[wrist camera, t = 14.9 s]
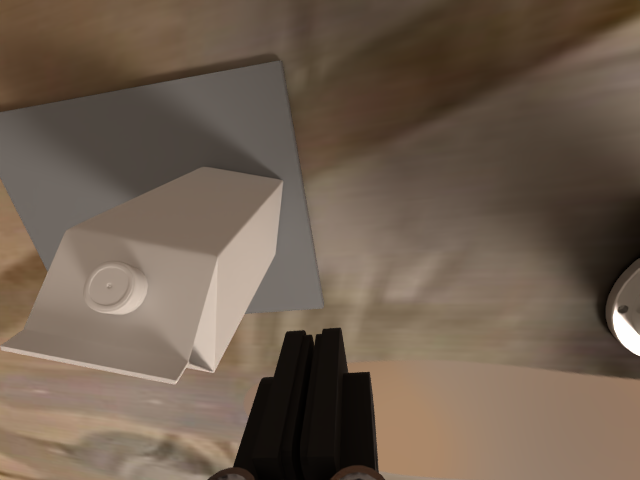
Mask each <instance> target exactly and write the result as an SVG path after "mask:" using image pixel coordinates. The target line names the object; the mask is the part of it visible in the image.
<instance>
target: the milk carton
mask: <svg viewBox="0 0 640 480" xmlns="http://www.w3.org/2000/svg"><path fill="white" fill-rule="evenodd" d="M282 189H283V181H282V180H280V179H274V178H269V177H263V176H257V175H251V174H246V173H240V172H234V171H228V170H223V169H217V168H211V167H201V168H199V169H196V170H194V171H192V172H190V173H188V174H186V175H183V176H181V177H179V178H177V179H175V180H173V181H170V182H168V183H166V184H164V185H162V186H160V187H157V188H155V189H153V190H151V191H149V192H146V193H144V194H142V195H140V196H138V197H136V198H133V199H131V200H129V201H127V202H125V203H123V204H120V205H118V206H116V207H114V208H112V209H110V210H107V211H105V212H103V213H101V214H99V215H97V216H94V217H92V218H90V219H88V220H86V221H84V222H82V223H80V224H78V225H76V226H73V227H71V228H70V229H68V230H66V232H65V234H64V236H63V238H62V240H61V243H60V245H59V247H58V250H57V252H56V254H55V257H54V259H53V261H52V264H51V266H50V268H49V271H48V273H47V275H46V278H45V280H44V282H43V285H42V287H41V289H40V292H39V294H38V296H37V299H36V301H35V303H34V306H33V308H32V310H31V313H30V315H29V318H28V320H27V322H26V325H25V327H24V330H22V331H21V332H19V333H18V334H16V335H15V336H13V337H12V338H11V339H9V340H8V341H6V342H5V343H3V344H2V345H1V346H0V347H1V350H3V351H8V352H13V353H18V354H23V355H28V356H33V357H38V358H43V359H48V360H54V361H59V362H64V363H69V364H74V365H79V366H84V367H89V368H94V369H99V370H104V371H109V372H114V373H119V374H124V375H129V376H134V377H140V378H145V379H150V380H155V381H160V382H165V383H170V384H176V383H177V382H178V380H179V378H180V377H181V375H182V374H183V372H184V370H185V369H186V368H191V369H196V370H201V371H206V372H211V373H214V371H215V369H216V367H217V366H218V364H219V362H220V360H221V358H222V356H223V354H224V352H225V350H226V348H227V346H228V344H229V343H230V341H231V339H232V337H233V335H234V333H235V331H236V329H237V327H238V325H239V323H240V321H241V319H242V318H243V316H244V314H245V312H246V310H247V308H248V306H249V304H250V302H251V300H252V298H253V296H254V295H255V293H256V291H257V289H258V287H259V285H260V283H261V281H262V279H263V277H264V275H265V273H266V271H267V270H268V268H269V266H270V264H271V262H272V260H273V258H274V256H275V254H276V245H277V235H278V226H279V217H280V207H281V198H282Z"/></svg>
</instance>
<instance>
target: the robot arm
mask: <svg viewBox="0 0 640 480" xmlns="http://www.w3.org/2000/svg"><path fill="white" fill-rule="evenodd" d="M606 321H607V324H608V328H609V329H610V331H611V333H612V334H613V336H614V337H615V338H616V339H617V340H618V341H619V342H620V343H621V344H622V345H623V346H624V347H625V348H627V349H628V350H629V351H631V352H632V353H634V354H636V355H638V356H640V258H639V259H638V260H636V261H635V262H633V263H632V264H631V265H630V266H629V267H628V268H627V269H626V270H625V271H624V272H623V273H622V274H621V276H620V277H619V278H618V280H617V281H616V282H615V284H614V286H613V288H612V290H611V292H610V294H609V296H608V300H607V304H606ZM208 480H385V479H384V478H383V476H382V475H381V474H379V470H378V456H377V442H376V429H375V415H374V404H373V394H372V386H371V378H370V372H359V373H348V368H347V362H346V355H345V349H344V342H343V336H342V330H341V328H330V329H323V331H322V334H317V335H316V339H315V346H314V342H313V337H312V335H306V332H305V331H304V330H302V331H287V332H286V334H285V338H284V342H283V345H282V349H281V353H280V356H279V360H278V364H277V367H276V371H275V374H274V377H264V378H262V379H261V381H260V384H259V387H258V390H257V393H256V396H255V399H254V403H253V406H252V409H251V412H250V415H249V418H248V421H247V425H246V428H245V431H244V434H243V437H242V440H241V444H240V447H239V450H238V453H237V456H236V459H235V462H234V466H233V467H232V468H227V469H224V470H221V471H219V472H217V473H216V474H214V475H212V476H211V477H210V478H209V479H208Z"/></svg>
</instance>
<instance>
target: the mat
mask: <svg viewBox="0 0 640 480" xmlns="http://www.w3.org/2000/svg"><path fill="white" fill-rule="evenodd" d="M201 167H211V168H217V169H223V170H228V171H234V172H240V173H246V174H251V175H257V176H263V177H269V178H274V179H280V180H282V181H283V189H282V198H281V207H280V217H279V226H278V235H277V245H276V254H275V256H274V258H273V260H272V262H271V264H270V266H269V268H268V270H267V271H266V273H265V275H264V277H263V279H262V281H261V283H260V285H259V287H258V289H257V291H256V293H255V295H254V296H253V298H252V300H251V302H250V304H249V306H248V308H247V310H246V312H245V314H249V313H263V312H277V311H292V310H306V309H320V308H323V306H324V301H323V295H322V290H321V284H320V278H319V272H318V266H317V260H316V255H315V249H314V243H313V237H312V231H311V226H310V220H309V214H308V208H307V202H306V197H305V191H304V185H303V179H302V173H301V168H300V162H299V156H298V150H297V144H296V139H295V133H294V127H293V121H292V115H291V109H290V104H289V98H288V92H287V86H286V80H285V75H284V69H283V63H282V61H280V60H279V61H274V62H269V63H263V64H258V65H252V66H247V67H242V68H236V69H231V70H225V71H220V72H215V73H209V74H204V75H199V76H193V77H188V78H182V79H177V80H172V81H166V82H161V83H155V84H150V85H145V86H139V87H134V88H129V89H123V90H118V91H112V92H107V93H102V94H96V95H91V96H85V97H80V98H75V99H69V100H64V101H59V102H53V103H48V104H42V105H37V106H32V107H26V108H21V109H16V110H10V111H5V112H0V178H1V180H2V182H3V184H4V186H5V188H6V190H7V192H8V194H9V196H10V198H11V200H12V202H13V204H14V206H15V208H16V210H17V212H18V214H19V216H20V218H21V220H22V222H23V224H24V226H25V228H26V230H27V232H28V234H29V236H30V237H31V239H32V241H33V243H34V245H35V247H36V249H37V251H38V253H39V255H40V257H41V259H42V261H43V263H44V265H45V267H46V269H47V271H49V268H50V266H51V264H52V261H53V259H54V257H55V254H56V252H57V250H58V247H59V245H60V243H61V240H62V238H63V236H64V234H65V232H66V230H68V229H70V228H71V227H73V226H76V225H78V224H80V223H82V222H84V221H86V220H88V219H90V218H92V217H94V216H97V215H99V214H101V213H103V212H105V211H107V210H110V209H112V208H114V207H116V206H118V205H120V204H123V203H125V202H127V201H129V200H131V199H133V198H136V197H138V196H140V195H142V194H144V193H146V192H149V191H151V190H153V189H155V188H157V187H160V186H162V185H164V184H166V183H168V182H170V181H173V180H175V179H177V178H179V177H181V176H183V175H186V174H188V173H190V172H192V171H194V170H196V169H199V168H201Z"/></svg>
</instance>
